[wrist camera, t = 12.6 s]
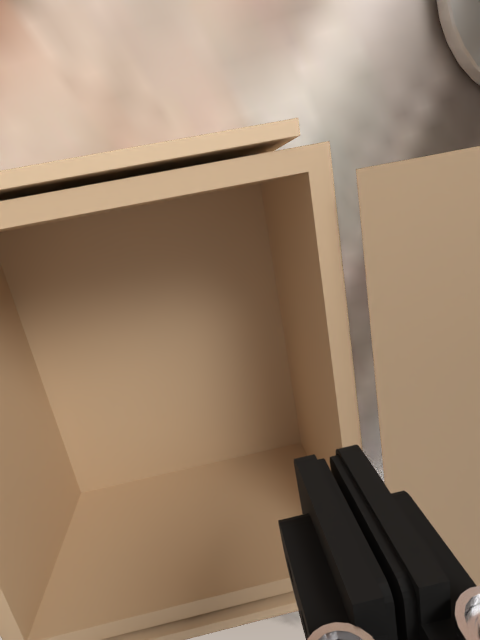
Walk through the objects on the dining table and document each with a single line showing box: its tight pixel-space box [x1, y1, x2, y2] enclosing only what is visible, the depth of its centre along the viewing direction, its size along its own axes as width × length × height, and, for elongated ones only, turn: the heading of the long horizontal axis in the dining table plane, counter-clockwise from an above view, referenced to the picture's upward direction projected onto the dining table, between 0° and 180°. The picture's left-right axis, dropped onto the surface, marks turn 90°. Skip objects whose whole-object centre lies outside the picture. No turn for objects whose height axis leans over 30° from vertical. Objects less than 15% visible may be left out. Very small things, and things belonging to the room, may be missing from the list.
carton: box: [0, 118, 363, 640], centre depth 20 cm, size 16×20×10 cm
